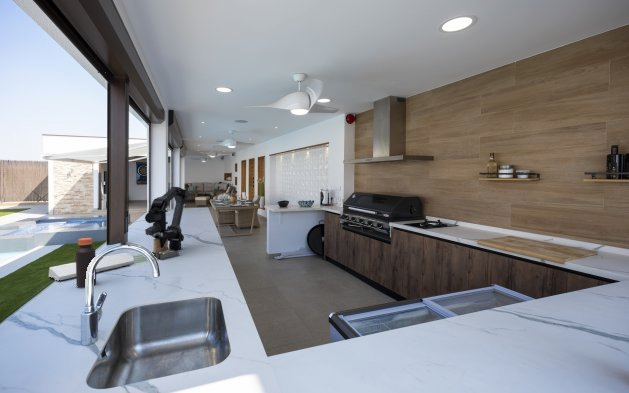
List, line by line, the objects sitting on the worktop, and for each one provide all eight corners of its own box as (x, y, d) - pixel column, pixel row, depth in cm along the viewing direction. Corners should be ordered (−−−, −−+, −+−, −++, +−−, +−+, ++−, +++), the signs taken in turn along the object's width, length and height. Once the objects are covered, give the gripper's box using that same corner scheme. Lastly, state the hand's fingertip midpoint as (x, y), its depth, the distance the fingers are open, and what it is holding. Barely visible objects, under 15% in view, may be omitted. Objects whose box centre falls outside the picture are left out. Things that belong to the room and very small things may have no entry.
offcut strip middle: (168, 255, 185) (168, 250, 185) (170, 255, 184) (170, 250, 184) (159, 257, 180) (158, 252, 179) (160, 257, 179) (160, 252, 179)
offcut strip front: (171, 255, 184) (171, 250, 183) (173, 256, 183) (173, 251, 183) (162, 258, 178) (162, 253, 178) (164, 258, 177) (164, 253, 177)
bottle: (86, 288, 131) (84, 240, 130) (72, 287, 132) (70, 240, 131) (100, 283, 138) (99, 237, 136) (87, 282, 139) (85, 237, 138)
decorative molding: (135, 268, 168) (125, 260, 173) (137, 259, 167) (126, 252, 172) (58, 286, 139) (48, 276, 143) (59, 277, 138) (49, 267, 142)
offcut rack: (166, 254, 190) (166, 248, 190) (180, 256, 185) (180, 250, 184) (148, 258, 179) (148, 252, 179) (162, 261, 174) (162, 255, 174)
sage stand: (144, 259, 178) (144, 252, 178) (154, 260, 175) (153, 254, 174) (125, 263, 168) (125, 256, 168) (135, 265, 165) (134, 258, 165)
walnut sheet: (166, 253, 187) (165, 236, 186) (167, 253, 186) (167, 237, 186) (153, 256, 180) (153, 239, 179) (155, 256, 179) (155, 239, 179)
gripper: (136, 221, 179) (137, 248, 180) (159, 223, 171) (159, 252, 172) (154, 218, 189) (154, 244, 190) (176, 221, 180) (176, 248, 181)
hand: (160, 247), depth 183 cm, fingers closed on walnut sheet, 2 cm apart
